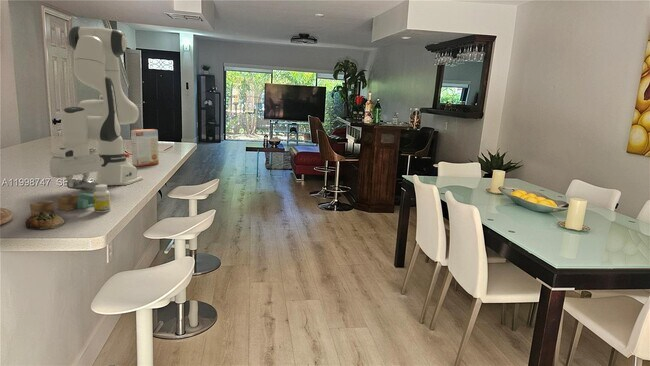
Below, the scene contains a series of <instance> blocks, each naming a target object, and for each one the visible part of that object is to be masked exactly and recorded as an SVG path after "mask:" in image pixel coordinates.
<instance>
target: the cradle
mask: <svg viewBox="0 0 650 366" xmlns="http://www.w3.org/2000/svg"><path fill="white" fill-rule="evenodd" d="M91 207H94V195H93V193H89V192H87V193H86V192H80V193H78V200H77V208H76V209H82V210H85V209H88V208H91Z"/></svg>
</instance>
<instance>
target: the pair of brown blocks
mask: <svg viewBox="0 0 650 366" xmlns="http://www.w3.org/2000/svg"><path fill="white" fill-rule="evenodd" d="M78 198H79V195H76V194H68V195H67V194H66V195H61V196H58V197H56V204H57V210H59V211H71V210H74V209H78V208H77V200H78ZM29 210H30V216H32V215H33V214H35V215H37V214H40V213H41V212H45V213H48V212H49V213H50V214H55V209H54V201H49V200H45V199H44V200H41V201H36V202H33V203H29Z"/></svg>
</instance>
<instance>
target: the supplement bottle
mask: <svg viewBox="0 0 650 366" xmlns="http://www.w3.org/2000/svg"><path fill="white" fill-rule="evenodd" d="M95 190H96V191H95V192H92V194H93V195H94V206H93V208H94V209H93V210H94V212H95V213H108V212H110V211H111V194H110V191H109V190H108V185H104V184H100V185H99V184H98V185H96V186H95Z"/></svg>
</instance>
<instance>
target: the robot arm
mask: <svg viewBox="0 0 650 366" xmlns="http://www.w3.org/2000/svg"><path fill="white" fill-rule="evenodd" d="M68 43H69V45H70V47H71V48H72V49H73V50H74V56H73V65H72V66H73V74H74V77H76V79H77V80H78V81H79V82H80V83H82V84H83V85H85V86H88V87H89V88H91V89H95V90H97V91H98V92H99V93H100V94H101V96H102V99H84V100H81V101H80V102H79V103H78V105H77V106H70V107H66V108H64V109H62V112H61V120H60V121H61V122H60V126H61V127H60V130H61V134H62V142H61V145H60V146H57V147H56V148H54V149H52V150H50V151H49V155H50V157H51V158H50V160H49V173H50V175H51V178H56V179H59V178H60V179H61V178H65V179H66V182H67V181H68V182H69V187H74V186H76V185H75V184H76V182H73V180H72V179H74V176H77V175H82V178H81V180H83V181H88V179H89V178H90V173H93V172H94V173H95V174H96V175H95V178H94V182H96V183H98V185H100V184H104V185H107V186H119V185H120V186H121V185H122V186H124V185H125V186H126V185H127V186H128V185H130V184H133V183H136V182H139V181H142V180H144V178H143V176H140V175H139V174H138V169H137V166H135V165H132V163H130V162H129V161H128V160H127V158H130V157H131V153H126V152H125V153H124V143H123V142H124V140H123V139H124V138H123V137H122V136H121V131H122V129H121V125H129V124H130V125H132V124H135V123H136V122H137V121H138V119H139V117H140V110H139V107H138V105H136V104H135V103H134V102H133V101H131V100H130V99H129V98H128V97H127V95H126V94H125V93H124V90H123V87H122V81H121V67H120V61H119V60H120V59H119V58H120V56H122V55H124V54H125V53H126V51H127V47H128V42H127V38H126V35H125V33H124V32H123V31H121V30H119V29H115V28H114V29H111V28H108V27H100V26H96V27H95V26H81V25H78V26H73V27H72V28H70V30H69V32H68ZM90 141H95V142H96V148H95V147H94V148H90Z"/></svg>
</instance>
